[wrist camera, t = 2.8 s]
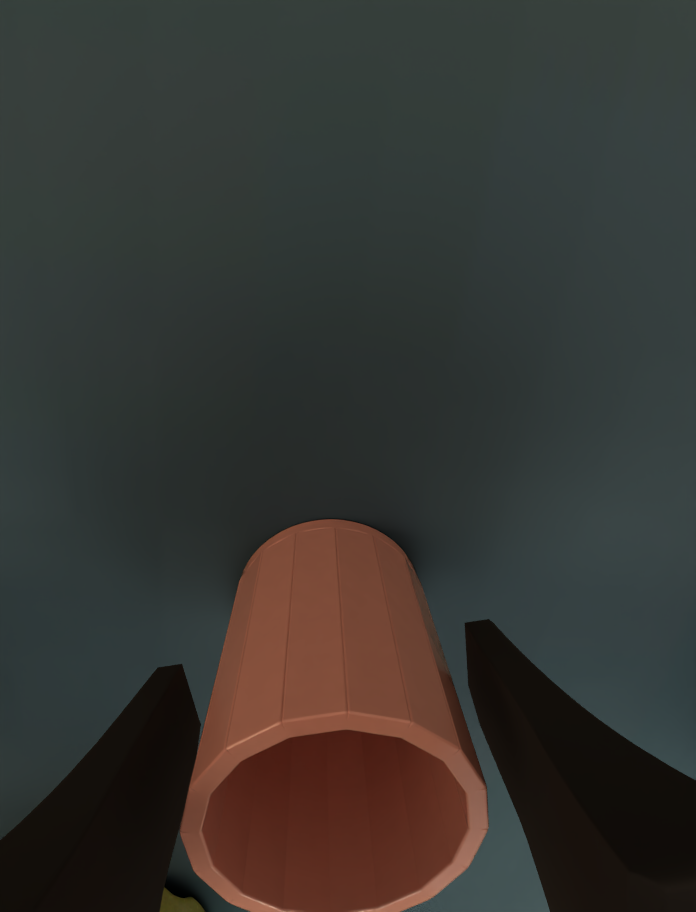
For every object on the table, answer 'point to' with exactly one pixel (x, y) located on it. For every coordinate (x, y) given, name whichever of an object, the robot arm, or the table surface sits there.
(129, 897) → the robot arm
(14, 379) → the table surface
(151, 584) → the table surface
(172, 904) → the plant pot
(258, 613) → the rose cup
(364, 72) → the table surface
